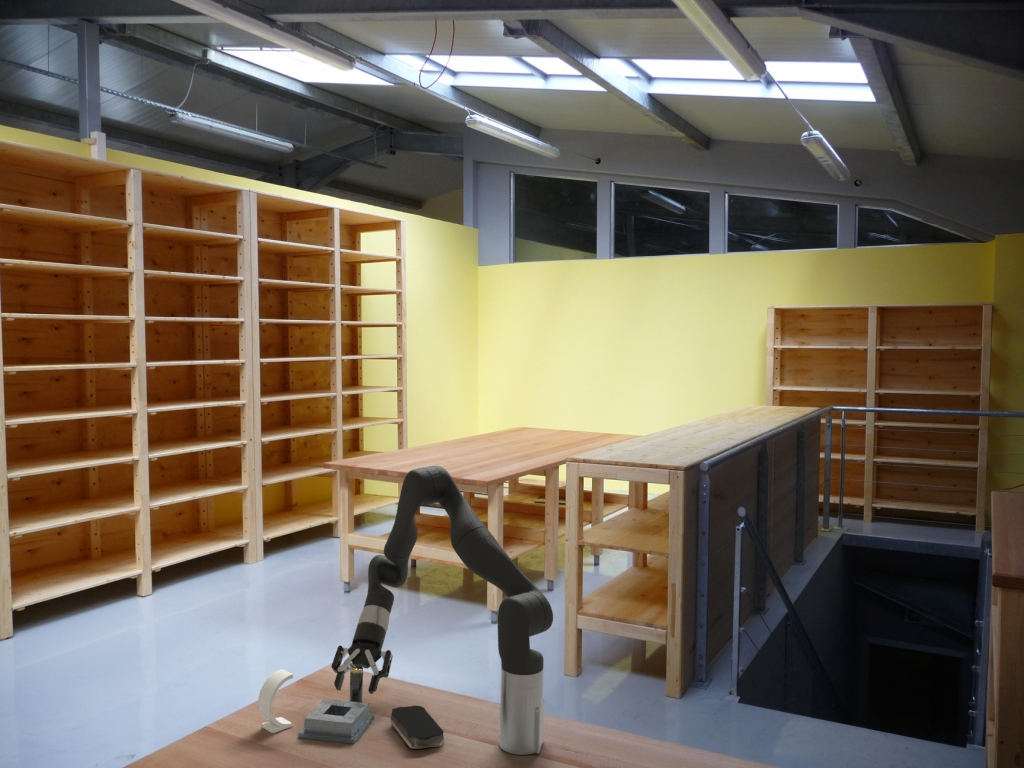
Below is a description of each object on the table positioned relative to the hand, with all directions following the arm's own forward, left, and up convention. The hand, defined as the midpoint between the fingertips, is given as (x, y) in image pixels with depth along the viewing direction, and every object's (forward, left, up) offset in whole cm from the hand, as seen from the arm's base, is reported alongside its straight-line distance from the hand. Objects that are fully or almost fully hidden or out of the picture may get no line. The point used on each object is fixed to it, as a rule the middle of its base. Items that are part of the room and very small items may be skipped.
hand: (354, 690), depth 196 cm
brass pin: (0, -1, -5) cm, 5 cm away
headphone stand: (+14, +13, -5) cm, 20 cm away
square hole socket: (0, +10, -5) cm, 11 cm away
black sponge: (-18, +9, -5) cm, 21 cm away
